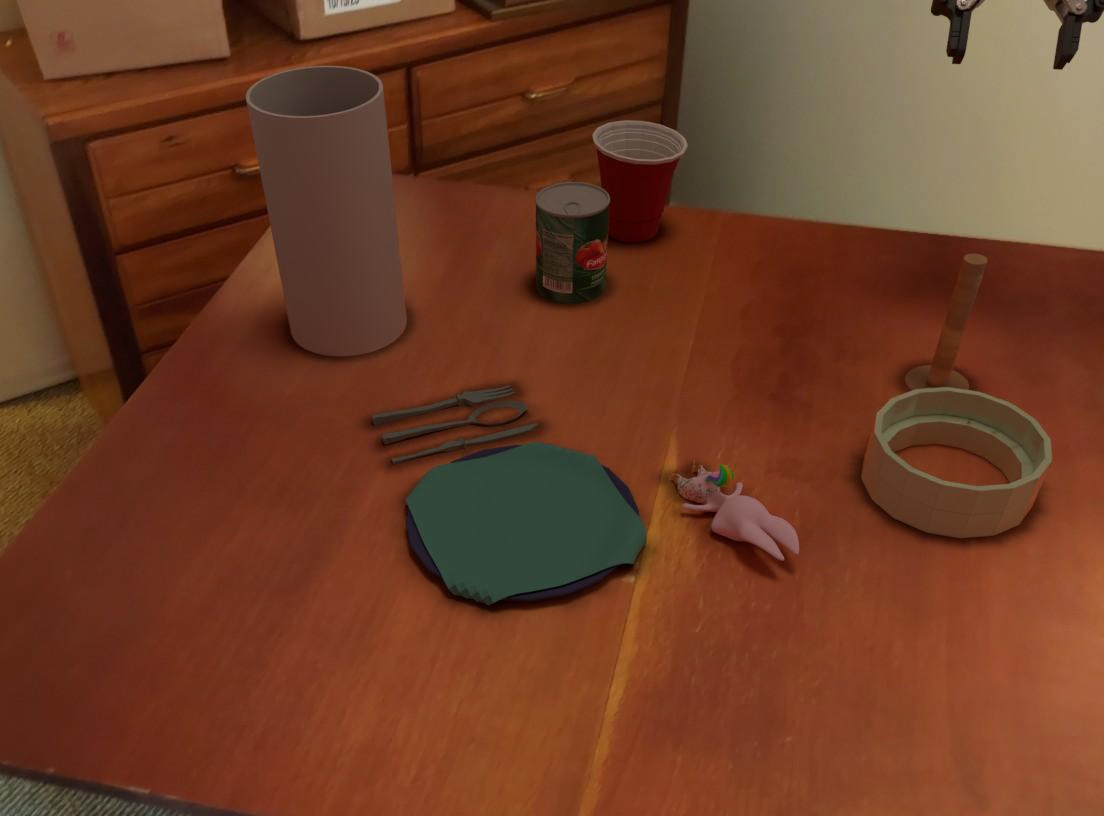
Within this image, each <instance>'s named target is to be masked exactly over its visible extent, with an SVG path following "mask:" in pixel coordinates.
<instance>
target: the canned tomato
mask: <svg viewBox="0 0 1104 816" xmlns="http://www.w3.org/2000/svg"><path fill="white" fill-rule="evenodd" d="M534 203H535V283H536V284H535V285H536V287H535V288H536V290H537V292H538V294H539V295H540V296H542V298H544V299H546V300H548V301H552V302H554V303H560V304H564V305H565V304H566V305H568V304H569V305H574V304H583V303H587V302H591V301H593V300H595V299H597V298H599V297H600V296H602V295H603V293H604V292H605V290H606V285H607V284H606V283H607V271H608V270H607V267H608V245H609V242H608V241H609V234H608V225H609V203H610V196H609V194H608V193H607V192H606V191H605V190H604V189H602V188H601V186H598V185H596V184H592V183H588V182H581V181H567V182H566V181H565V182H558V183H554V184H550V185H548V186H545V187H543V188H542V189H541V190H539V191H538V192H537V193H536V196H535V199H534Z"/></svg>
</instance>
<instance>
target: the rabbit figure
mask: <svg viewBox="0 0 1104 816" xmlns="http://www.w3.org/2000/svg"><path fill="white" fill-rule="evenodd" d="M692 463H693V465H692V466H691V471H690V472H691V473H696V472H697V474H696V476H693V477H691V478H686V477H683V476H681V474H679V472H678V473H673V470H672V468H669V469H670V473H669V478H668V482H673V481H674V480H676V487H677V492H678V494H679V496H681V498H683V499H685V500H687V501H691V502H694V503H698V504H691V503H687V502H685V503H683V504H682V505H681V508H682V510H687V511H693V512H694V511H696V512H711V513H716V514H715V515H714V517H713V519H712V522H711V525H710V527H711V528H710V529H711V531H712V532H713V533H716V534H718V535H720V536H722V537H725V538H728V539H730V540H732V541H734V542H735V541H736V542H747V543H750V544H752V545H754V546H756V547H758V548H760V549H761V550H763V551H765V552H766V553H767V554H769V555H770V556H772V557H773V558H775V559H776V560H779V561H783V562H784V561H785V557H784V556H783V553H782V552H781V550H780V548H779V546H778V544H777V543H776V542H775V540H776V541H777V542H778V543H779V544H781V545H782V546H783V547H785V548H786V549H787V550H789V551H790V552H791V553H792V554H794V555H796V556H798V555H799V553H800V541H799V536H798V534H797V531H796V530H795V528H794V527H793V526H792V525H791V524H790V522H788V521H787V520H785V519H783V518H782V517H780V516H777V515H773V514H771V513H770V512H769V511H768V509H767V508H766V507H765V505H763V503H761V501H759V500H757V499H756V498H754V497H752V496H749V495H741V493H742V491H743V486H744V484H743V482H742V481H738V482H736V484H735V490H734V492H731V494H724V493H723V492H721V488H726V487H729V486H730V485H732V483H733V481H734V479H735V477H734V473H733V471H732V470H731V468H730V467H729V466H728V465H726V464H725V463H718V466H719V471H707V470H706V469H705V468H704V466H703V464H698V465H696V462H695V460H694V459H692Z"/></svg>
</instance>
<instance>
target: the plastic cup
mask: <svg viewBox="0 0 1104 816" xmlns="http://www.w3.org/2000/svg"><path fill="white" fill-rule="evenodd" d="M592 140H593V145H594V147H595V149H596V157H597V164H598V168H599V178H600V188H602V189H604V190H605V191H606V192H607V193H608V194H609V196H610V203H609V225H608V236H610V237H611V238H612V239H615V240H617V241H620V242H624V243H625V242H626V243H642V242H645V241H646V242H647V241H649V240H651V239H653V238H654V237H656V236H657V234H658V232H659V228H660V227H659V226H660V223H661V219H662V216H663V213H664V211H665V208H666V203H667V199H668V196H669V192H670V188H671V185H672V182H673V178H674V174H675V171H676V170H677V166H678V163H679V162H680V160H681V158H682V157H683V156H684V154H685V152H686V151H687V148H688V146H689V145H688V142H687V140H686V137H685V136H684V135H682V134H681V133H679V132H678V131H677V130H676V129H672V128H670V127H668V126H666V125H663V124H661V123H660V124H659V123H655V122H651V121H646V120H631V119H630V120H628V119H627V120H626V119H625V120H618V121H610V122H607V123H605V124H603V125H600V126H597V128H596V129H595V130H594V131H593V133H592Z"/></svg>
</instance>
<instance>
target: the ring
mask: <svg viewBox="0 0 1104 816" xmlns="http://www.w3.org/2000/svg"><path fill="white" fill-rule="evenodd" d="M927 445H939V446H946V447H952V448H959V449H961V450H964V451H966V452H969V453H971V454H974V455H976V456H979V457H981V458H984V459H985V460H986V461H987V462H989V463H990V464H991V465H993V466H994V467H996V468H997V469H998V470H1000V471H1001V472H1002V473H1003V475H1004V476H1005V478H1006V480H1007V481H1008V483H1000V484H989V485H987V484H986V485H973V484H969V483H968V484H967V483H962V482H954V481H949V480H944V479H941V478H938V477H937V476H935V475H932V474H929V473H927V472H925V471H922V470H919V469H917V468H915V467H912V466H911V465H910V464H909V463H908V462H907V461H905V460H904V459H903V458H902V457H900V456H899V455H898V454H896V453H897V452H899V451H901V450H904V449H906V448H910V447H915V446H927ZM1052 448H1053V447H1052V440H1051V438H1050V437H1049V435H1048V434H1047V432H1046V431H1045V429H1044V428H1043V427H1042V426H1041V424H1040V423H1039V422H1038V420H1037V419H1036V418H1035V417H1033V416H1031V415H1030V414H1029V413H1027V412H1025V411H1024V410H1022V409H1021V408H1019V407H1018V406H1017V405H1015V404H1014V403H1012V402H1010V401H1007V400H1005V399H1000V398H998V397H995V396H993V395H990V394H987V393H984V392H982V391H979V390H978V391H977V390H970V389H969V390H965V389H958V388H951V387H938V388H925V389H915V390H912V391H911V390H909V391H907V392H904V393H900V394H899V395H896V396H893V397H891V398H890V399H889V400H888V401H887V402H886V403H885V404H884V405H883V406H882V407H881V408H880V409H879V410H878V411H877V412H876V414H875V417H874V421H873V424H872V428H871V432H870V434H869V440H868V443H867V447H866V450H865V454H864V457H863V463H862V469H861V477H860V479H861V481H862V483H863V485H864V487H865V489H866V491H867V493H868V496H869V497H870V499H871V500H872V501H873V502H874V503H875V504H876V505H877V506H878V507H880V508H881V509H882V510H883V511H884V512H886V514H888V515H890V517H892V518H893V519H894V520H897V521H899V522H901V523H903V524H906V525H908V526H909V527H913V528H915V529H917V530H919V531H922V532H924V533H926V534H927V533H928V534H933V535H937V536H938V535H939V536H944V537H950V538H954V539H955V538H956V539H968V538H969V539H971V538H981V537H994V536H996V535H999V534H1001V533H1004V532H1006V531H1008V530H1010V529H1014V528H1015V527H1018V526H1019V525H1021V523H1022V521H1024V519H1025V517H1026V516H1027V515H1028V514H1029V512H1030V511H1031V510H1032V508H1033V506H1034V504H1035V501H1036V499H1037V497H1038V495H1039V492H1040V490H1041V488H1042V485H1043V483H1044V480H1045V478H1046V476H1047V473H1048V472H1049V469H1050V466H1051V465H1052V462H1053V452H1052V451H1053V450H1052Z"/></svg>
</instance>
